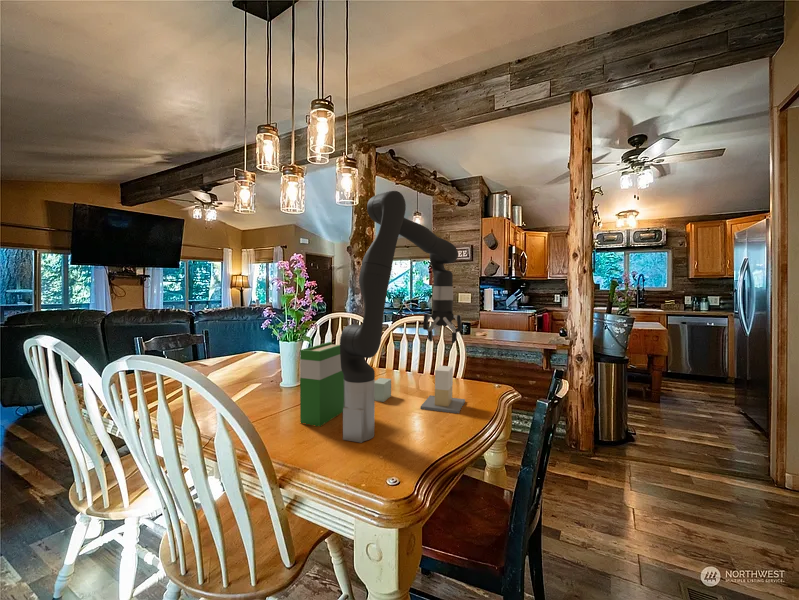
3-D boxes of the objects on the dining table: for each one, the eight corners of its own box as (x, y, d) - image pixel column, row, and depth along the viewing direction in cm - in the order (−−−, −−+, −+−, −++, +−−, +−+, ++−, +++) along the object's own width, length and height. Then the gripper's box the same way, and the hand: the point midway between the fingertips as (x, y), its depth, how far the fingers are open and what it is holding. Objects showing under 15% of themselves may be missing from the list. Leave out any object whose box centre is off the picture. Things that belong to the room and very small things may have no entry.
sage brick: (383, 402, 142) (384, 384, 142) (371, 400, 144) (372, 382, 143) (391, 396, 150) (391, 379, 149) (379, 394, 151) (379, 377, 151)
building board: (458, 413, 130) (459, 394, 129) (420, 409, 134) (420, 390, 134) (465, 401, 143) (465, 383, 143) (430, 397, 148) (430, 380, 147)
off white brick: (448, 390, 134) (448, 371, 133) (435, 389, 135) (435, 370, 135) (452, 384, 141) (452, 366, 141) (439, 383, 143) (440, 365, 143)
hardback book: (329, 406, 136) (329, 342, 135) (347, 409, 134) (347, 343, 132) (300, 423, 120) (300, 350, 119) (319, 426, 117) (319, 351, 116)
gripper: (421, 298, 136) (421, 342, 136) (460, 299, 131) (459, 344, 132) (426, 297, 143) (426, 339, 144) (463, 298, 138) (462, 341, 139)
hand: (442, 342), depth 138 cm, fingers open, 8 cm apart
